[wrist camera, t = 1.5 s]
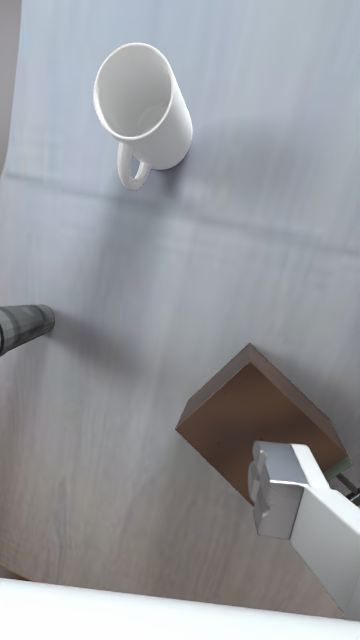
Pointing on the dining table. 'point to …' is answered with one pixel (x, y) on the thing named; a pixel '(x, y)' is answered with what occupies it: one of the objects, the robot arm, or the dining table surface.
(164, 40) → the dining table surface
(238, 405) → the cabinet
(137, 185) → the mug
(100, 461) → the dining table surface
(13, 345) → the beverage cup
